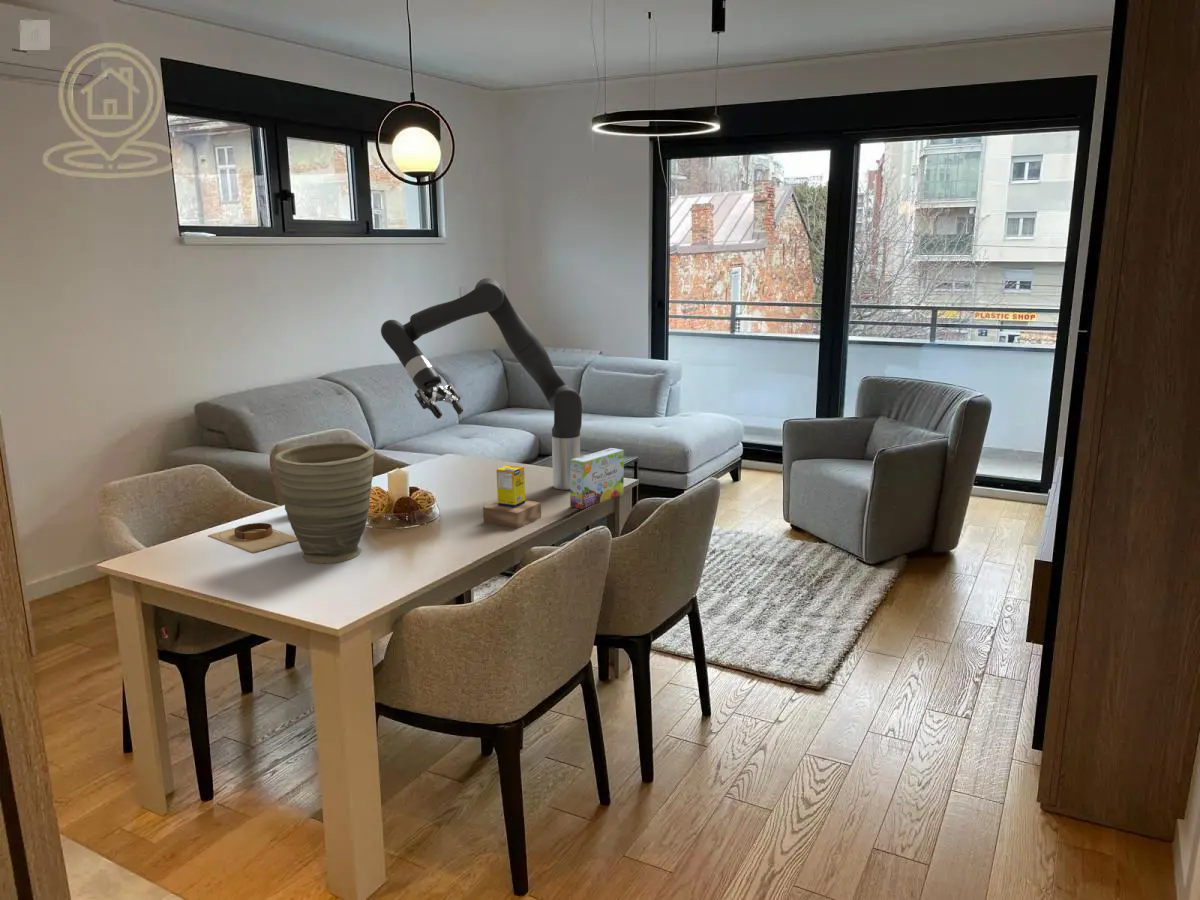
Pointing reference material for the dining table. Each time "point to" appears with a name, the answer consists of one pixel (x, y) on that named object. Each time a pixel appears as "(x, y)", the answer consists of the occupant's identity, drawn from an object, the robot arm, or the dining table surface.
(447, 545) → the dining table surface
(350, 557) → the vase
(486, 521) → the walnut block
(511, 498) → the supplement box
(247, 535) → the board
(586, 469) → the snack box
